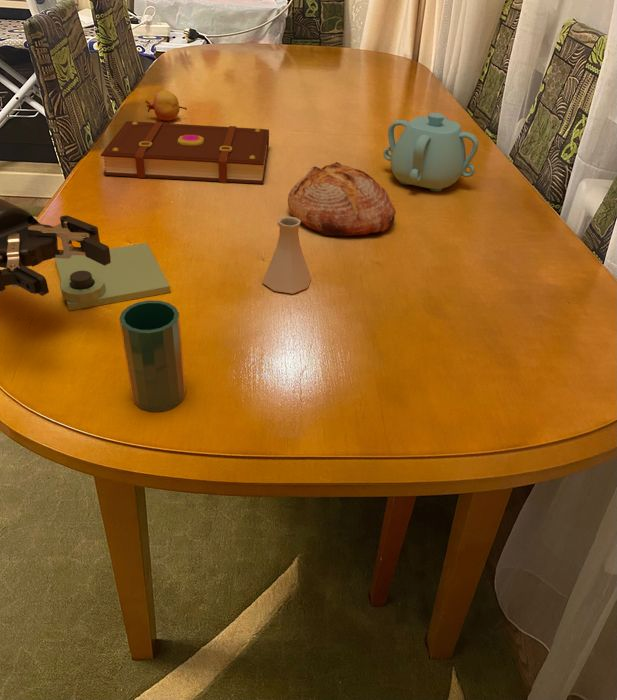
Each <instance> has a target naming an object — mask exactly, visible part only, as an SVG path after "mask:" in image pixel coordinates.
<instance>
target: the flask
mask: <svg viewBox="0 0 617 700" xmlns="http://www.w3.org/2000/svg"><path fill="white" fill-rule="evenodd" d="M301 224H302V222H301V220H299V219H297V218H295V217H294V216H289V215H286V216H282V217H280V218H279V219H278V221H277V226H278V227H279V233H278V234H279V235H278V239H277V244H276V248H275V250H274V253H273V255H272V257H271V260H270V261H269V262H270V263H269V264H268V267H267V270H266V271H265V274H264V276H263V279H262V281H261V284H263V285H265V286H266V287H268V288H269V289H271V290H272V291H274V292H279V293H285V294H291V295H292V294H293V295H294V294H295V293H299V292H301V291H304V290H305V289H308V288H309V285H310V282H311V280H312V276H311V272H310V270H309V267H308V265H307V262H306V260H305V257H304V253H303V250H302V247H301V243H300V236H299V235H300V234H299V227H300V226H301Z"/></svg>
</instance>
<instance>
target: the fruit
mask: <svg viewBox="0 0 617 700" xmlns="http://www.w3.org/2000/svg"><path fill="white" fill-rule="evenodd" d="M144 103H146V105H145V106H146V107H147V108H148V109H147V113H149V112H150V111H151V110H153V111H154V114H155V116H156V117H157V119H158V120H161V121H166V122H170V121H173V120H175V119H176V118H177V117H178V115H179V113H180V109H182V110H185V111H187V110H188V108H187V107H185V106H180V104H179V99H178V96H176V94H174V92H172V91H169V90H167V89H166V90H165V89H164V90H160V91H158V92H156V93H155V96H154V100H153V102H150V101H148V100H146V99H145V101H144Z"/></svg>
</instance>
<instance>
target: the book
mask: <svg viewBox="0 0 617 700" xmlns="http://www.w3.org/2000/svg"><path fill="white" fill-rule="evenodd" d="M269 147H270V129H268V128H256V127H255V128H254V127H237V126H236V125H229V126H219V125H204V124H203V125H201V124H185V123H184V124H183V123H169V122H168V123H167V122H163V121H155V122H151V121H148V122H147V121H131V120H127V121H125V123H124V124H123V125H122V126H121V128H120V129H119V130H118V132H117V133H116V134H115V135H114V137H112V139H111V141H110V142H109V143H108V145H106V147H105V148H104V149H103V151H102V152H101V154H100V156H101V157H103V158H102V159H103V160H104V161H103V163H104V164H103V166H104V172H103V175H104V176H115V177H117V176H118V177H136V178H137V179H146V178H150V179H151V178H152V179H153V178H154V179H169V180H170V179H172V180H187V181H188V180H190V181H207V182H208V181H209V182H219V183H221V184H227V183H242V184H243V183H245V184H259V185H260V184H264V182H265V175H266V168H267V161H268V155H269V154H268V153H269Z"/></svg>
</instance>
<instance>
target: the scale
mask: <svg viewBox="0 0 617 700" xmlns="http://www.w3.org/2000/svg"><path fill="white" fill-rule="evenodd" d="M109 251H110V257H111V258H110V260H111V263H109V264H107V265H105V266H104V265H102V264H100V263H98V262H96V261H94V260H92V259H90V258H88V257H86V255H72V256H71V258H68V259H67V258H54V262H55V265H56V269H57V273H58V277H59V280H60V283H59V288H60V292H61V296H62V299H64V300H65V302H66V305H67V308H68V311H69V312H71V311H72V312H73V311H77V310H83V309H87V308H93V307H98V306H104V305H110V304H115V303H120V302H125V301H126V302H127V301H130V300H138V299H141V298H147V297H153V296H158V295H164V294H170V293H171V291H172V290H171V285H170V283H169V281H168V280H167V277H166V276H165V274H164V272H163V270H162V268H161V266H160V265H159V263H158V261H157V259H156V257H155V255H154V253H153V252H152V250H151V248H150V245H149V244H148V242H143V243H136V244H131V245H124V246H117V247H111V248H110V247H109ZM77 271H88V272H90V273H91V275H92V280H93V286H92V287H90V288H88V289H83V290H76V289H73V288H72V285H71V280H70V275H71V274H72V273H74V272H77Z"/></svg>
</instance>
